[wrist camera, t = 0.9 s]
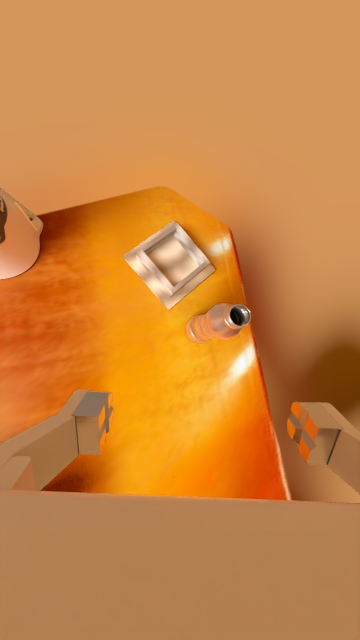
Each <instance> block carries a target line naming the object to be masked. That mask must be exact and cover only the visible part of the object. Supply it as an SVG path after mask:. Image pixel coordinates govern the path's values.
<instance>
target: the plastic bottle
mask: <svg viewBox="0 0 360 640" xmlns="http://www.w3.org/2000/svg"><path fill="white" fill-rule="evenodd" d="M250 319H251V314H250V311H249V309H248V308H247V307H246V306H244V305H242V304H236V305H232V304H228V303H220V304H217V305H215V306H213V307H212V308H211V309H210V310H209V311H208V312H207V313H205V314H204V315H197V316H194V317H192V318H191V319H190V320H189V321H188V322H187V324H186V328H185V332H186V335H187V337H188V338H189V339H190V340H191V341H193V342H196V343H205V342H207V341H209V340H211V339H213V338H218V339H229V338H232V337H234V336H235V335H237V334H238V333H239V332H240V330H241V328H242V327H244V326H246V325H247V324H248V323H249V322H250Z"/></svg>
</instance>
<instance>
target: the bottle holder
mask: <svg viewBox="0 0 360 640" xmlns="http://www.w3.org/2000/svg"><path fill="white" fill-rule="evenodd" d="M123 258H124V259H125V260H126V262H127V263H128V264H129V265H130V266H131V267H132V268H133V270H134V271H135V272H136V273H137V274H138V275H139V277H140V278H141V279H142V280H143V281H144V282H145V284H146V285H147V286H148V287H149V288H150V289H151V290H152V292H153V293H154V294H155V295H156V296H157V297H158V299H159V300H160V301H161V302H162V303H163V304H164V306H165V307H166V308H167V309H168V310H169V309H171V308H172V307H173V306H174V305H175V304H176V303H178V302H179V301H180V300H181V299H182V298H183V297H185V296H186V295H187V294H188V293H189V292H190V291H192V290H193V289H194V288H195V287H196V286H197V285H199V284H200V283H201V282H202V281H203V280H205V279H206V278H207V277H208V276H209V275H210V274H212V273H213V272H214V271H215V268H214V267H213V266H212V265H211V264H210V263H211V262H210V261H209V260H208V259H207V257H206V256H205V255H204V254H203V253H202V251H201V250H200V249H199V248H198V247H197V246H196V244H195V243H194V242H193V241H192V240H191V238H190V237H189V236H188V235H187V234H186V232H185V231H184V230H183V229H182V228H181V226H180V225H179V224H178V223H176V222H175V221H172V222H171V223H170V224H168V225H167V226H165V227H164V228H162V229H161V230H159V231H158V232H157V233H155V234H154V235H152V236H151V237H149V238H148V239H146V240H145V241H144V242H142V243H141V244H139V245H138V246H136V247H135V248H133V249H132V250H131V251H129V252H128V253H126V254H125V255H123Z"/></svg>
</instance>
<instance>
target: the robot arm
mask: <svg viewBox="0 0 360 640" xmlns="http://www.w3.org/2000/svg"><path fill="white" fill-rule="evenodd" d="M31 219H33V220H32V221H30V220H31ZM42 229H43V222H42V221H41V220H40V219H39V218H38V217H37V216H35V215H34V214H33V213H31V212H30V211H29V210H28V209H26V208H25V207H24V206H23V205H21V204H20V203H19V202H18V201H16V200H15V199H14V198H12V197H11V196H10V195H9V194H7V193H6V192H5V191H4V190H2V189H1V188H0V279H6V278H11V277H14V276H17V275H19V274H21V273H23V272H25V271H26V270H27V269H29V268H30V267H31V266H32V265H33V264H34V262H35V261H36V259H37V257H38V254H39V250H40V241H39V237H40V234H41V231H42ZM112 401H113V393H112V392H108V391H95V390H79V389H78V390H76V391H75V392H74V393H73V394H72V396H71V397H70V398H69V400H68V401H67V402H66V404H65V405H64V406H63V408H62V409H61V411H60V412H59V413H58V415H53V416H51V417H49V418H47V419H45V420H43V421H42V422H40V423H38V424H36V425H34V426H32V427H31V428H29V429H27V430H25V431H23V432H21V433H20V434H18V435H16V436H14V437H12V438H10V439H9V440H7V441H5V442H3V443H1V444H0V640H360V503H338V502H313V501H288V500H263V499H237V498H211V497H185V496H159V495H134V494H108V493H82V492H56V491H40V490H41V489H43V488H44V487H45V486H46V485H47V484H48V483H49V482H50V481H51V480H52V479H53V478H55V477H56V476H57V475H58V474H59V473H60V472H61V471H62V470H63V469H64V468H65V467H66V466H68V465H69V464H70V463H71V462H72V461H73V460H74V459H75V458H76V457H77V456H78V454H101V452H102V449H103V446H104V444H105V441H106V434H107V433H108V432H109V431H110V428H111V425H112V420H113V408H112V406H111V403H112ZM291 411H292V413H293V414H292V415H291V416H289V417H288V421H287V429H288V433H289V435H290V437H291V439H292V440H293V441H294V442H295V443H297V444H298V450H299V452H300V454H301V455H302V457H303V459H304V460H305V462H306V463H307V464H318V465H328V467H329V468H330V469H331V470H332V471H333V472H334V473H336V474H337V475H338V476H339V477H340V478H341V479H343V480H344V481H345V482H346V483H347V484H348V485H350V486H351V487H352V488H353V489H354V490H355V491H356V492H358V493H359V494H360V430H356V429H355V428H354V427H353V426H352V425H351V424H350V423H349V422H348V421H347V420H346V419H345V418H344V417H343V416H342V415H341V414H340V413H339V412H338V411H337V410H336V409H335V408H334V407H333V406H332V405H331V404H329V403H307V402H294V403H293V404H292V406H291Z"/></svg>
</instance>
